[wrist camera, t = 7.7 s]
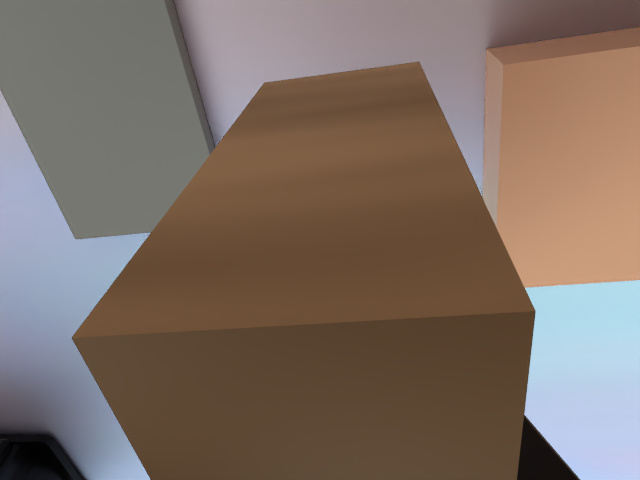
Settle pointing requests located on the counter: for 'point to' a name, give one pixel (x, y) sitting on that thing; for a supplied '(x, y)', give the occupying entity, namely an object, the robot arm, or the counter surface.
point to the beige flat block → (565, 156)
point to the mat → (105, 107)
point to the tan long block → (322, 301)
